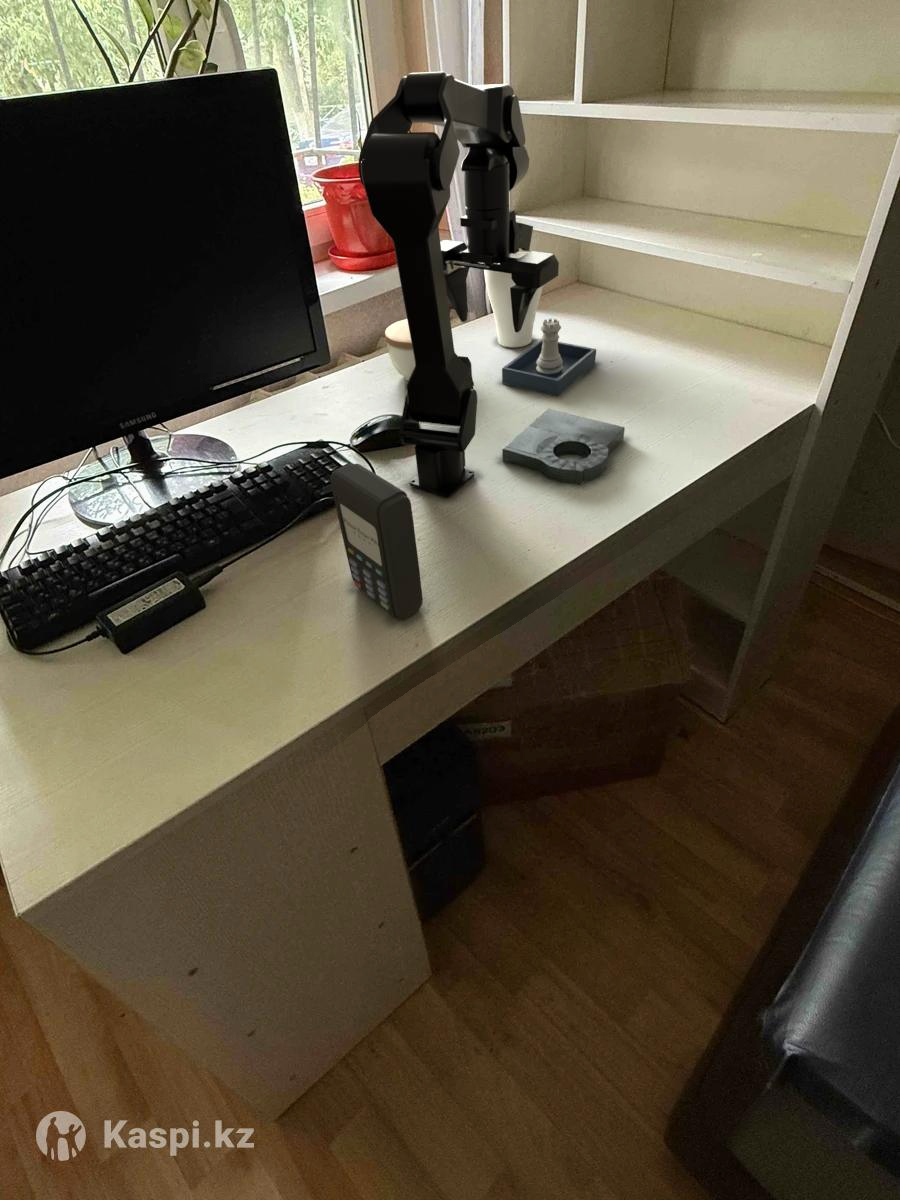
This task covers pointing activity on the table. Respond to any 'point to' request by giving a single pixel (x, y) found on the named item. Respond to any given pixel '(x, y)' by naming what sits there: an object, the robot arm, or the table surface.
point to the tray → (528, 377)
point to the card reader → (378, 538)
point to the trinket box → (400, 348)
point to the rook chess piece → (550, 349)
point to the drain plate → (564, 446)
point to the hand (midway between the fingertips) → (490, 326)
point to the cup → (509, 308)
